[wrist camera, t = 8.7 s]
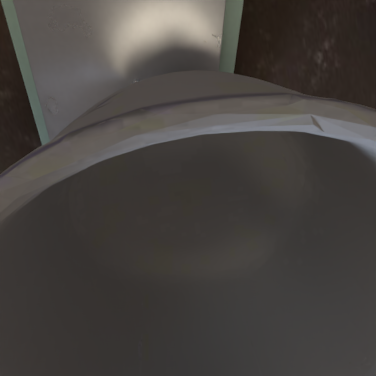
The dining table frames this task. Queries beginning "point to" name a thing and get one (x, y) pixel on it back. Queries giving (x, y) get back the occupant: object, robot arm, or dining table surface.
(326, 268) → the teacup
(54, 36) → the scale plate
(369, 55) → the dining table surface
